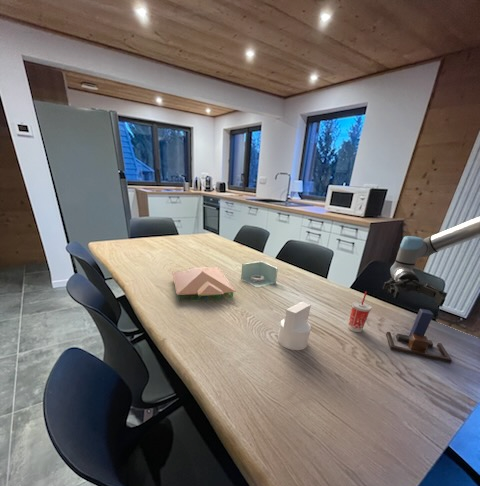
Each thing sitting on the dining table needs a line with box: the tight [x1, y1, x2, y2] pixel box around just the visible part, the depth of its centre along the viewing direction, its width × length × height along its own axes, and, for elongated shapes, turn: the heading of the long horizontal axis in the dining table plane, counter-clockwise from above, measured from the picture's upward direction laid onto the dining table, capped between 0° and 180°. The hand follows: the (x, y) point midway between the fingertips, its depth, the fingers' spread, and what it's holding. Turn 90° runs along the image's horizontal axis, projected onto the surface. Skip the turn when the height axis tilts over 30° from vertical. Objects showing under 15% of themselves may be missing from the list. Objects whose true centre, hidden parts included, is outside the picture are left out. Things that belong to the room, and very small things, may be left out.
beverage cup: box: [347, 290, 373, 333], centre depth 89 cm, size 6×6×14 cm
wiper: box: [395, 308, 434, 349], centre depth 84 cm, size 10×3×12 cm, turn 70°
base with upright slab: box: [277, 300, 312, 351], centre depth 79 cm, size 9×9×12 cm
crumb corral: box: [385, 331, 453, 364], centre depth 83 cm, size 16×10×1 cm, turn 70°
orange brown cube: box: [407, 333, 430, 353], centre depth 82 cm, size 4×4×4 cm
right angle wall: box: [240, 260, 279, 288], centre depth 126 cm, size 12×12×8 cm
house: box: [171, 266, 236, 303], centre depth 113 cm, size 23×33×8 cm
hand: (419, 298), depth 89 cm, fingers open, 13 cm apart
